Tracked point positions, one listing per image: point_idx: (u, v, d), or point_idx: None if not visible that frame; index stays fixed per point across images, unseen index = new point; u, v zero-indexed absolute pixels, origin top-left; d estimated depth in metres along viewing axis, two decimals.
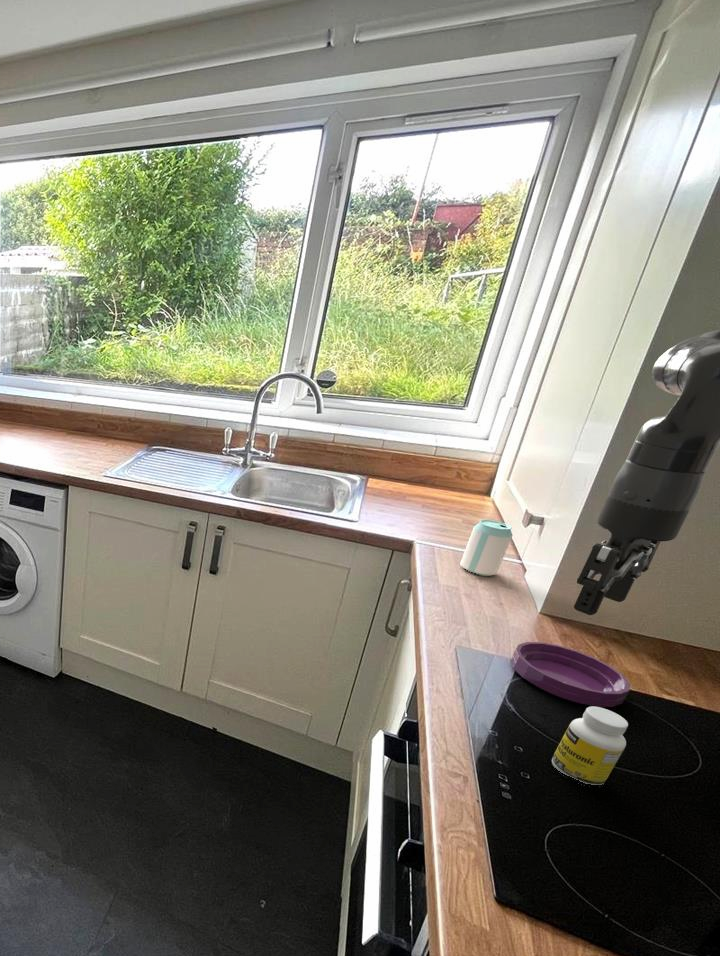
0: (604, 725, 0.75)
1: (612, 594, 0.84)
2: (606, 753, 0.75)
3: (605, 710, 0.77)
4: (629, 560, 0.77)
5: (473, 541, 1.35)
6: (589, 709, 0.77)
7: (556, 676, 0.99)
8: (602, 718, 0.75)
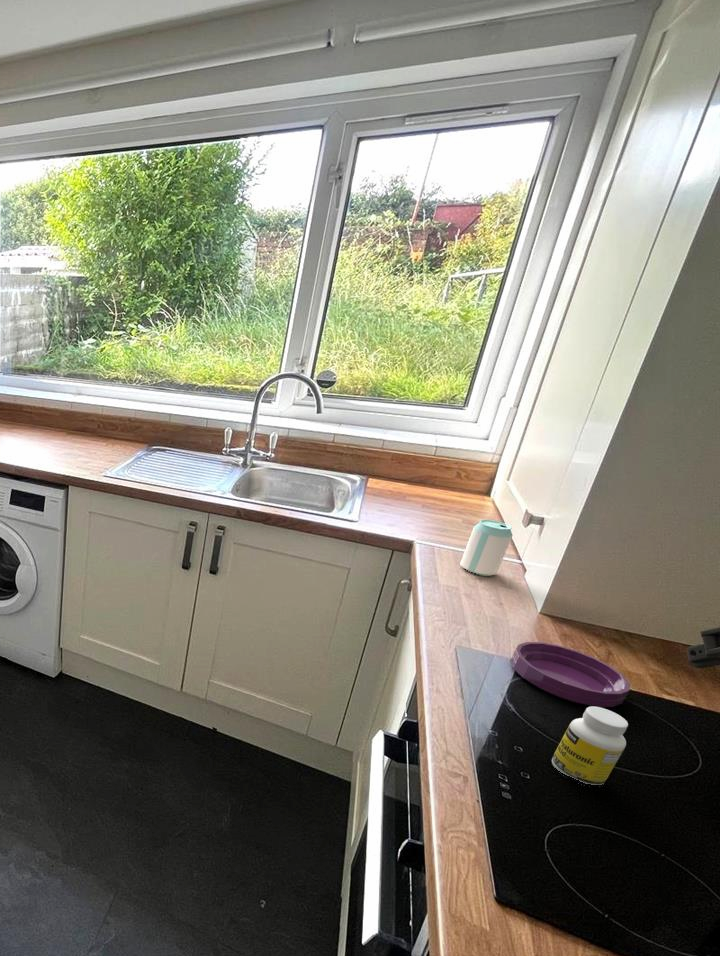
0: (604, 725, 0.75)
1: None
2: (606, 753, 0.75)
3: (605, 710, 0.77)
4: None
5: (473, 541, 1.35)
6: (589, 709, 0.77)
7: (556, 676, 0.99)
8: (602, 718, 0.75)
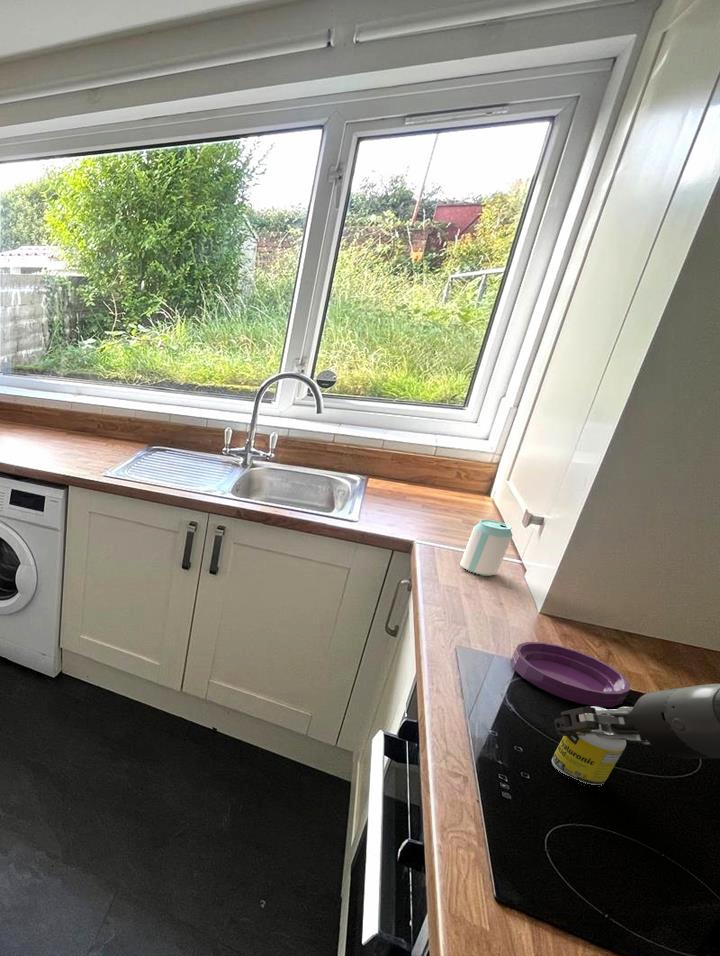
0: None
1: None
2: (606, 753, 0.75)
3: None
4: None
5: (473, 541, 1.35)
6: None
7: (556, 676, 0.99)
8: None
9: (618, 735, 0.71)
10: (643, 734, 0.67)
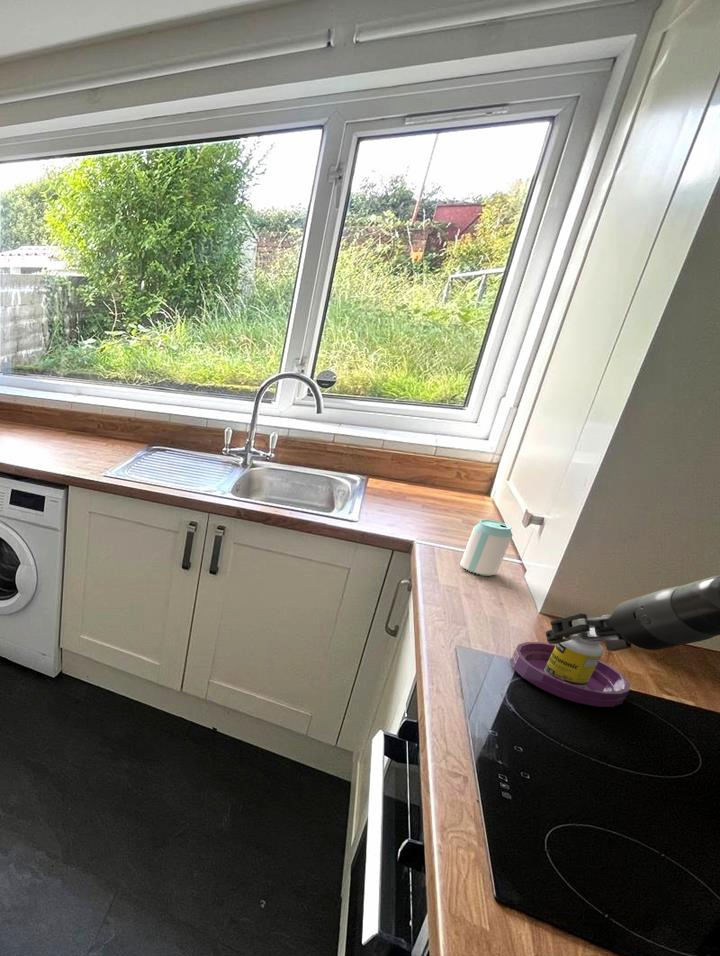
0: None
1: None
2: (587, 658, 0.94)
3: None
4: None
5: (473, 541, 1.35)
6: None
7: None
8: None
9: (601, 636, 0.89)
10: (620, 632, 0.85)
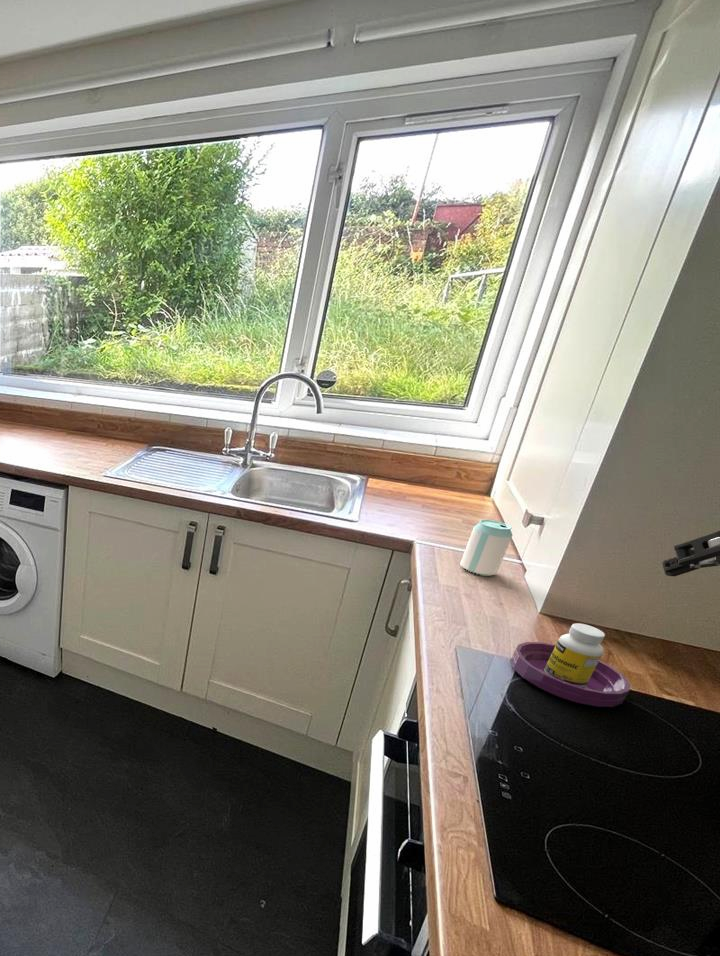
0: (585, 635, 0.93)
1: None
2: (587, 658, 0.94)
3: (587, 626, 0.96)
4: None
5: (473, 541, 1.35)
6: (574, 625, 0.96)
7: None
8: (584, 631, 0.94)
9: None
10: None
